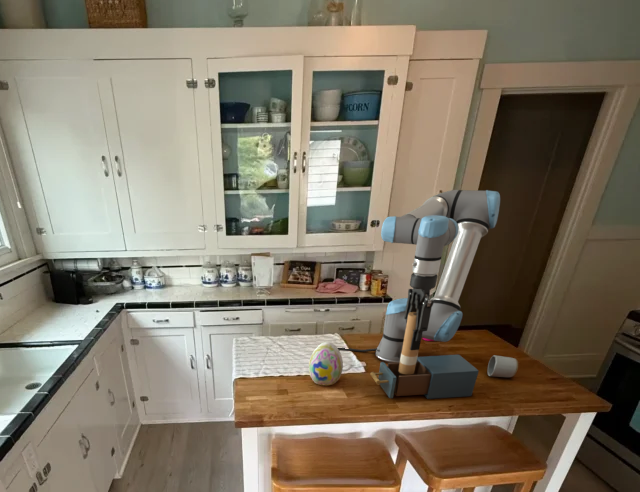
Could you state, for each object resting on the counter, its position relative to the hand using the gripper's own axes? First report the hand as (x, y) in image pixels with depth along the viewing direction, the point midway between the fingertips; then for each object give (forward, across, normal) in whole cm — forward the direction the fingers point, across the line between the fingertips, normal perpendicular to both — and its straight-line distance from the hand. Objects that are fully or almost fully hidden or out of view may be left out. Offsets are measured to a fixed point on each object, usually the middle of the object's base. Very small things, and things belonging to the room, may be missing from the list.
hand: (411, 345), depth 141 cm
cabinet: (+17, 0, +14) cm, 22 cm away
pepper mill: (+17, -45, +30) cm, 57 cm away
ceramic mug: (+17, -8, +40) cm, 44 cm away
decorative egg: (+17, -11, -26) cm, 33 cm away
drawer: (+16, 0, -2) cm, 16 cm away
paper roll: (+9, 0, 0) cm, 9 cm away
